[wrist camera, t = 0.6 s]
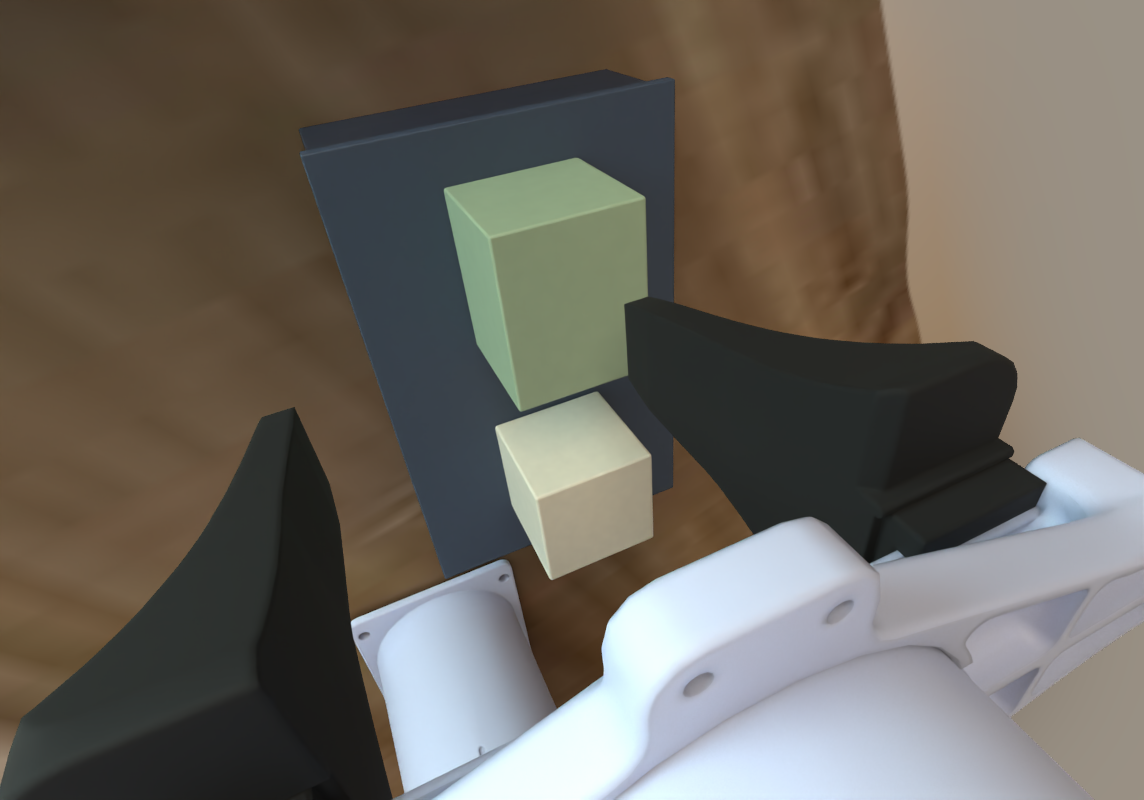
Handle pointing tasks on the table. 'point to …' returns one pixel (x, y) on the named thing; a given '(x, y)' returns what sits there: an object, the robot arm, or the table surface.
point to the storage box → (434, 280)
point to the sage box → (550, 275)
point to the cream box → (577, 482)
